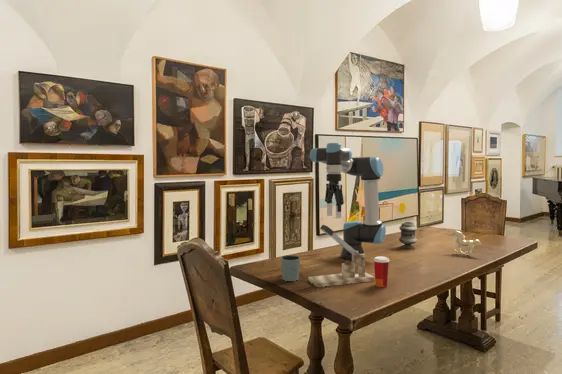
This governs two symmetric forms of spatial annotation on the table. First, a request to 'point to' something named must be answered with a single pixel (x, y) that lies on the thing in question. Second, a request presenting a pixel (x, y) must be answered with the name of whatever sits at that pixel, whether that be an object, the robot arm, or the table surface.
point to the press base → (342, 279)
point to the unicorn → (464, 242)
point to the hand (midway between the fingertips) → (333, 216)
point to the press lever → (339, 240)
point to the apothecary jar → (408, 235)
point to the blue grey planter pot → (290, 267)
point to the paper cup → (381, 271)
